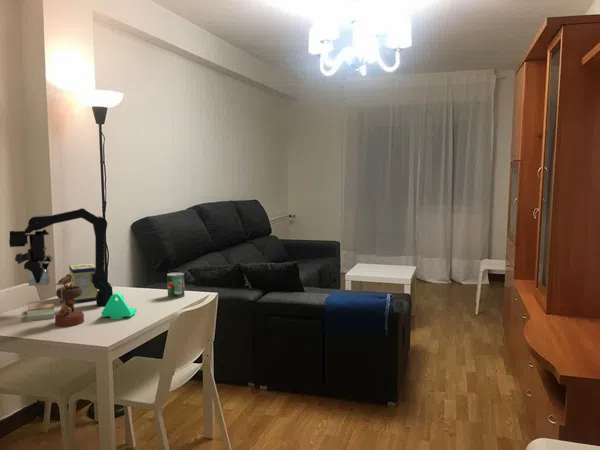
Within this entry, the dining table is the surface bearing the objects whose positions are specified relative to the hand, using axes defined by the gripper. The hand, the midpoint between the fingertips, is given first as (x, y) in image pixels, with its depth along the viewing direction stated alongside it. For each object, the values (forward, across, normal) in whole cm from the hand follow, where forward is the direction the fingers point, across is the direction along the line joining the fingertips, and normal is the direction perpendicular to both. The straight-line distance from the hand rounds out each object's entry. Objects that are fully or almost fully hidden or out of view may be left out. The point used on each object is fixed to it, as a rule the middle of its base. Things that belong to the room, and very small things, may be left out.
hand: (39, 281), depth 224 cm
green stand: (+13, +10, +2) cm, 16 cm away
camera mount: (+13, +14, +34) cm, 40 cm away
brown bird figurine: (+13, +20, +16) cm, 29 cm away
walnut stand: (+13, 0, 0) cm, 13 cm away
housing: (+1, 0, 0) cm, 1 cm away
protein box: (+13, -21, +13) cm, 28 cm away
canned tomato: (+13, -15, +56) cm, 59 cm away
